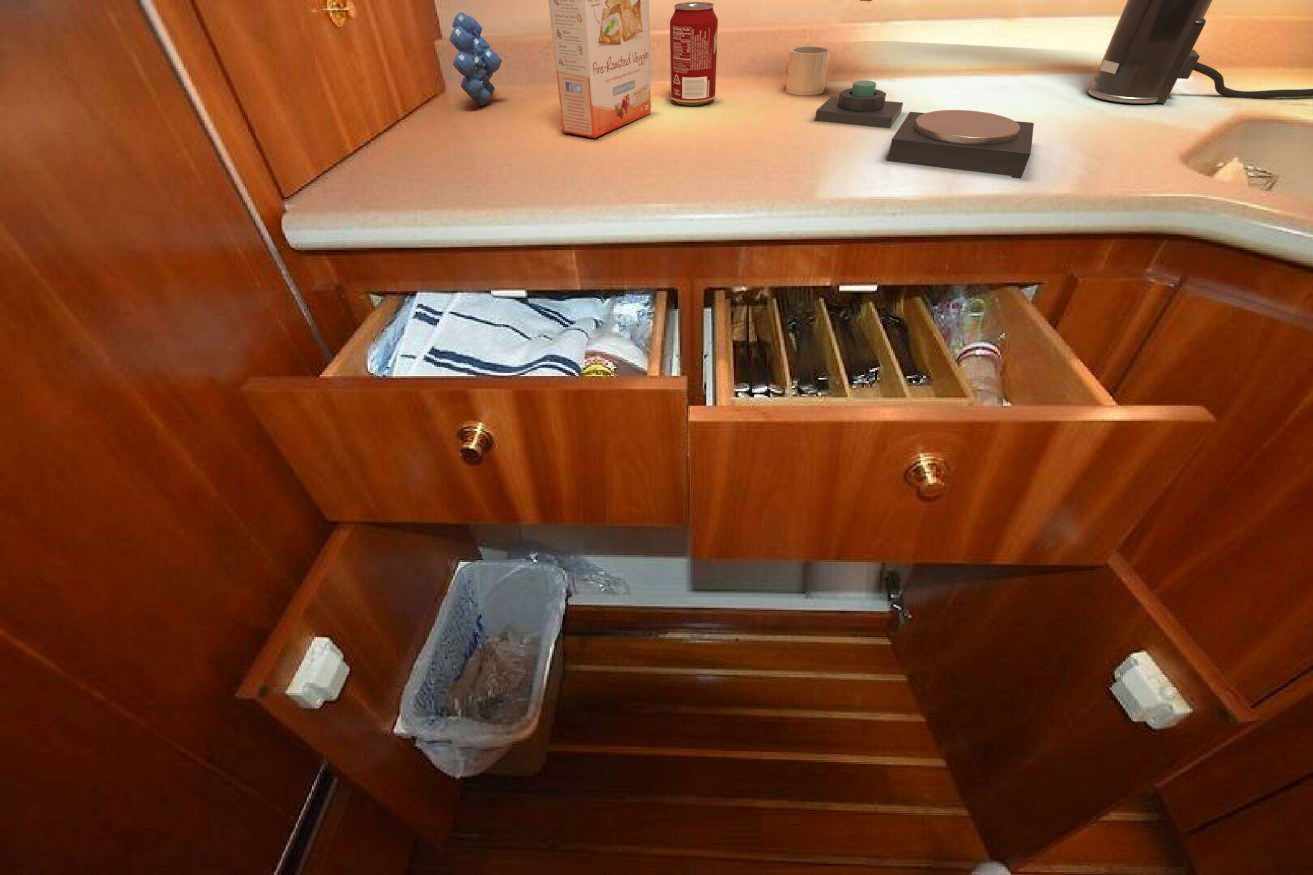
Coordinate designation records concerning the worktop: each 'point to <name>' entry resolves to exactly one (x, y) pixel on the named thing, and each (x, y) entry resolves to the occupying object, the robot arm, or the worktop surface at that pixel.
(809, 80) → the cup
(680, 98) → the soda can
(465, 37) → the grapes
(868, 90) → the button
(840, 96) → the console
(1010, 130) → the scale
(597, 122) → the cracker box
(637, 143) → the worktop surface
